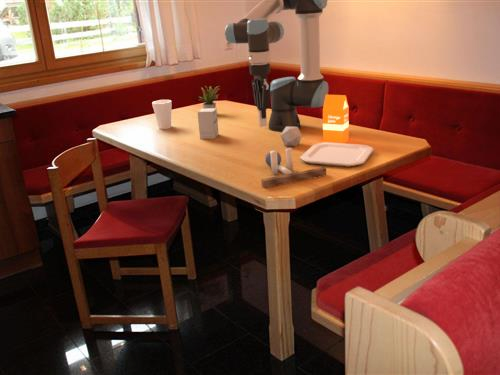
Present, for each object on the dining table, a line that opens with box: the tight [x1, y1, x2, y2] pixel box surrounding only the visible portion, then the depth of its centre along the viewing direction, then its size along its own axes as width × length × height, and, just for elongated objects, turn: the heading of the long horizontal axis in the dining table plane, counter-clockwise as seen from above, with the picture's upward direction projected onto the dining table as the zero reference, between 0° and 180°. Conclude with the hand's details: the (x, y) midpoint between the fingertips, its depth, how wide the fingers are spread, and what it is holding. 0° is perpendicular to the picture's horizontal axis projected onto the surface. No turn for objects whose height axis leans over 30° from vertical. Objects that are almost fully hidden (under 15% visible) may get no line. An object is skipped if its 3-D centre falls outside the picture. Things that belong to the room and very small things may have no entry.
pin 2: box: [285, 147, 294, 172], centre depth 190 cm, size 2×2×8 cm
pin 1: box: [270, 150, 279, 176], centre depth 188 cm, size 2×2×8 cm
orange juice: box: [322, 94, 350, 144], centre depth 219 cm, size 8×9×20 cm
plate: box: [299, 142, 375, 168], centre depth 204 cm, size 25×25×2 cm
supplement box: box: [197, 107, 219, 140], centre depth 240 cm, size 7×7×13 cm
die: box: [280, 127, 303, 147], centre depth 221 cm, size 8×9×10 cm
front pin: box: [278, 163, 294, 175], centre depth 189 cm, size 2×2×8 cm
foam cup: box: [151, 99, 173, 130], centre depth 262 cm, size 10×9×13 cm
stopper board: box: [260, 166, 327, 188], centre depth 182 cm, size 24×2×2 cm, turn 112°
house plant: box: [198, 85, 221, 109], centre depth 280 cm, size 14×14×16 cm
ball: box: [265, 151, 282, 168], centre depth 196 cm, size 6×6×6 cm
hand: (262, 125), depth 200 cm, fingers closed
